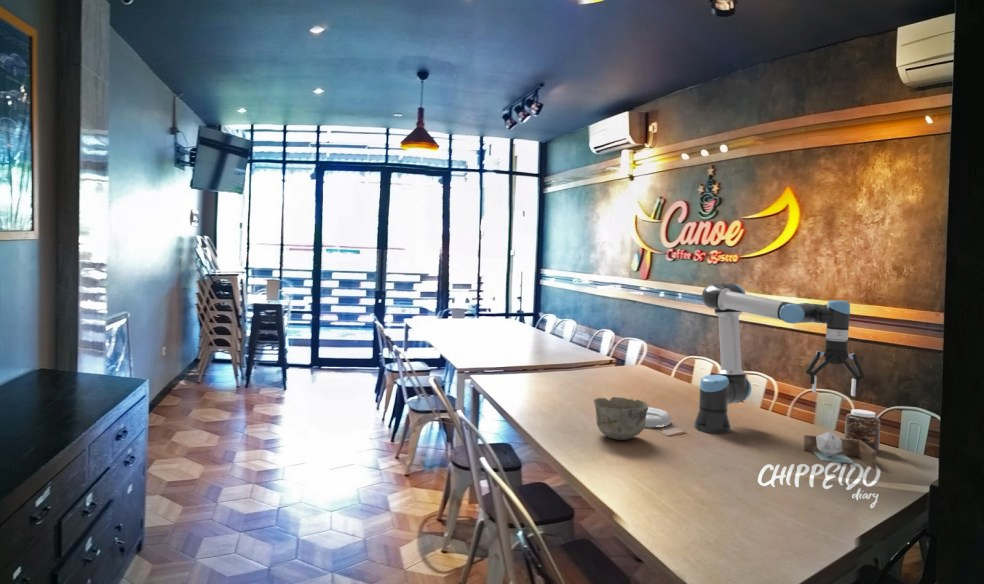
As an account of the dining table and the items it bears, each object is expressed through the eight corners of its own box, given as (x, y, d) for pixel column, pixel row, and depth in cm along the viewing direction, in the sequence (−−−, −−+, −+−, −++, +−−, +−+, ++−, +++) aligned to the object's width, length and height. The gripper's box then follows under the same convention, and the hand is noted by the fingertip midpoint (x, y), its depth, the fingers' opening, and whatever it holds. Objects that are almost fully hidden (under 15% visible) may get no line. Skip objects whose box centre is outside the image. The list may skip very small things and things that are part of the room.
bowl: (651, 436, 246) (652, 400, 245) (641, 449, 226) (643, 410, 226) (599, 428, 255) (601, 394, 255) (586, 441, 235) (587, 403, 235)
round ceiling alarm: (681, 423, 272) (682, 409, 271) (666, 434, 250) (667, 420, 250) (628, 414, 285) (629, 402, 285) (610, 425, 263) (611, 411, 263)
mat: (821, 460, 219) (821, 459, 219) (813, 452, 230) (813, 451, 230) (854, 463, 217) (854, 462, 217) (844, 455, 227) (844, 454, 227)
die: (823, 460, 219) (824, 433, 219) (811, 452, 228) (812, 427, 227) (846, 461, 218) (847, 434, 218) (833, 453, 227) (834, 428, 227)
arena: (814, 462, 217) (815, 445, 217) (803, 449, 233) (804, 434, 233) (875, 468, 212) (876, 451, 212) (860, 455, 228) (860, 439, 228)
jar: (874, 446, 241) (875, 410, 241) (882, 454, 230) (884, 416, 230) (841, 442, 245) (843, 407, 244) (848, 450, 234) (850, 413, 233)
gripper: (803, 338, 229) (800, 392, 230) (876, 343, 222) (872, 399, 223) (799, 336, 236) (796, 389, 237) (869, 341, 229) (866, 395, 230)
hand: (833, 394), depth 230 cm, fingers open, 13 cm apart
